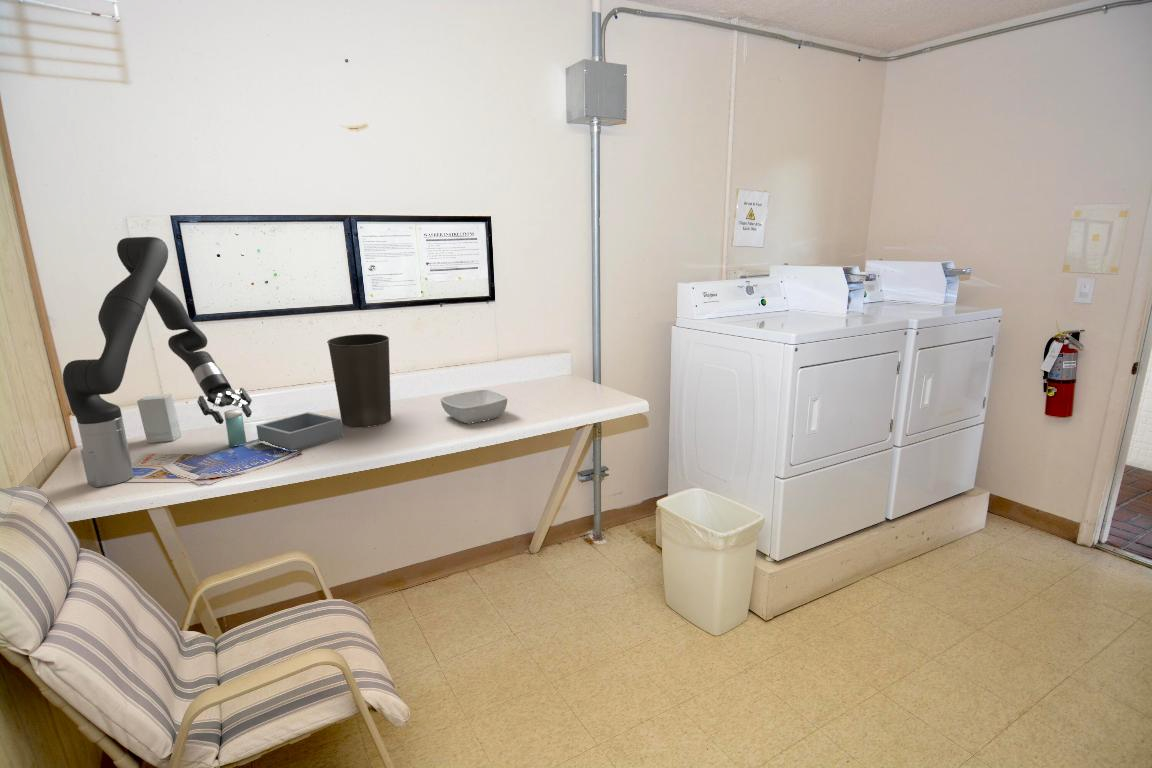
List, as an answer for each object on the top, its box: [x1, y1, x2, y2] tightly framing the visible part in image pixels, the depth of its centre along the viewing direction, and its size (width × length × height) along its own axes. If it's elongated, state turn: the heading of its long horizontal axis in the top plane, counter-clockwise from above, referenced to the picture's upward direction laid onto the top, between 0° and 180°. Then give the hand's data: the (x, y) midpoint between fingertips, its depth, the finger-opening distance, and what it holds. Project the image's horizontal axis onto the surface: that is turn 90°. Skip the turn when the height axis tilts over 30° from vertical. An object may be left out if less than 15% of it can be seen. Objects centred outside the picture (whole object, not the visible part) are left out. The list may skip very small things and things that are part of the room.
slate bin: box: [256, 411, 343, 451], centre depth 188 cm, size 18×18×6 cm
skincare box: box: [136, 393, 182, 444], centre depth 190 cm, size 8×6×15 cm
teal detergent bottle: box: [223, 408, 247, 447], centre depth 184 cm, size 5×5×11 cm
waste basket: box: [327, 333, 392, 428], centre depth 205 cm, size 27×20×30 cm
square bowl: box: [440, 389, 508, 424], centre depth 210 cm, size 20×20×8 cm
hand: (236, 419), depth 183 cm, fingers open, 8 cm apart
